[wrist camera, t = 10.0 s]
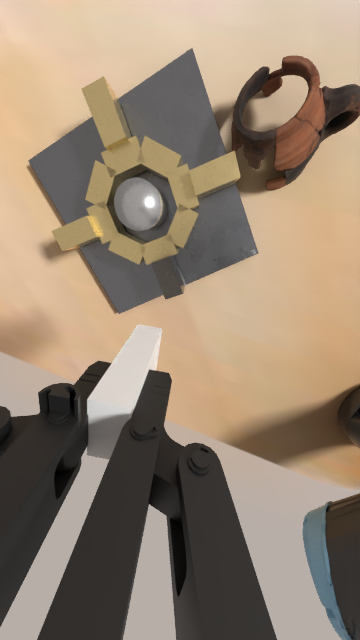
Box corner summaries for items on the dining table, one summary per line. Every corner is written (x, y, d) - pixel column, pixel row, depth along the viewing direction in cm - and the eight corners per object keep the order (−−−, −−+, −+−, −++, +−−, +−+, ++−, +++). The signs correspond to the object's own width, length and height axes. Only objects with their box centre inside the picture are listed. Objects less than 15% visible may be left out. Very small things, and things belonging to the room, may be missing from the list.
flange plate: (256, 252, 31) (270, 258, 25) (120, 311, 36) (105, 328, 30) (192, 54, 24) (190, -4, 18) (33, 163, 28) (-10, 146, 22)
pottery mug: (245, 207, 29) (232, 166, 22) (234, 139, 30) (218, 78, 22) (358, 167, 24) (392, 97, 17) (342, 87, 25) (367, -14, 17)
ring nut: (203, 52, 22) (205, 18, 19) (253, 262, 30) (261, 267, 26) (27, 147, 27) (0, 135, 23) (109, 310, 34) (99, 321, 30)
